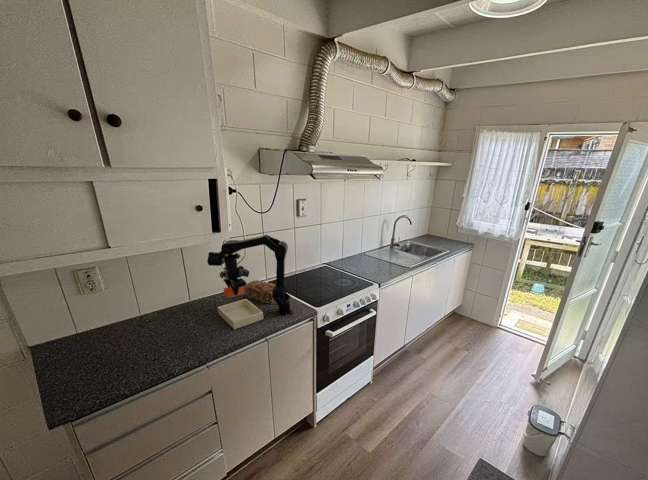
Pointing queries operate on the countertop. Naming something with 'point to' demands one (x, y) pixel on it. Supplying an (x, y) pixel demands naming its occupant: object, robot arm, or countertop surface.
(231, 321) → the cream rectangular tray
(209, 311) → the countertop surface
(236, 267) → the robot arm
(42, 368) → the countertop surface
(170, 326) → the countertop surface
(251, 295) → the bread
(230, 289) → the snack bar
